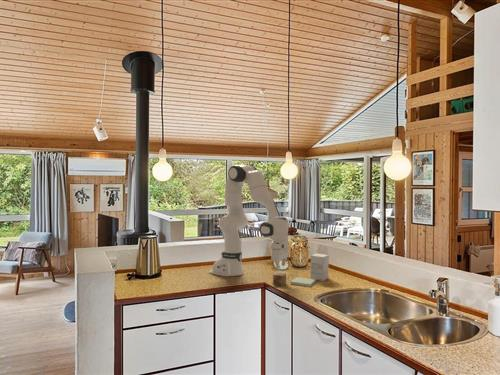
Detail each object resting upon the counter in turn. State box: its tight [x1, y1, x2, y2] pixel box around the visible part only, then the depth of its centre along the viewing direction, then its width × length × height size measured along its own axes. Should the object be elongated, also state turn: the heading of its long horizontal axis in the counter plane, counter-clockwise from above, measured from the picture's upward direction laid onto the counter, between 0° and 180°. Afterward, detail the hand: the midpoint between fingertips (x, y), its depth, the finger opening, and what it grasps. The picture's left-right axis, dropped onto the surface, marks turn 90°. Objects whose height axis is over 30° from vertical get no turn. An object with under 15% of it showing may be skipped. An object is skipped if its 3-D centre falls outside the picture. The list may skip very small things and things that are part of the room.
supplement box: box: [309, 253, 330, 282], centre depth 249 cm, size 9×9×15 cm
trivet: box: [290, 276, 317, 288], centre depth 238 cm, size 12×12×2 cm
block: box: [272, 272, 287, 287], centre depth 234 cm, size 6×6×6 cm
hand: (280, 267), depth 234 cm, fingers open, 8 cm apart
